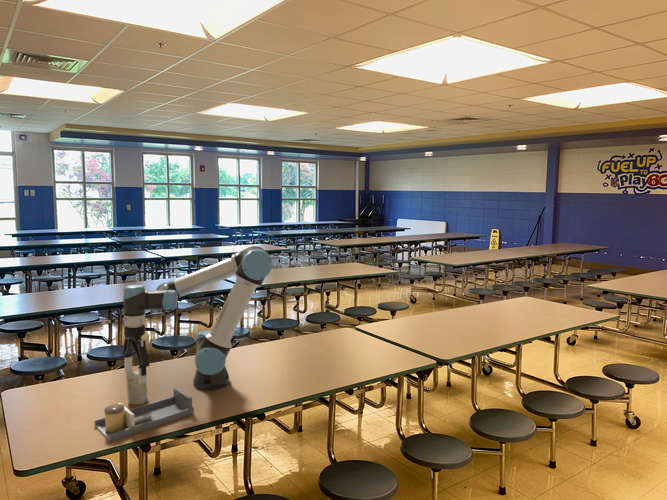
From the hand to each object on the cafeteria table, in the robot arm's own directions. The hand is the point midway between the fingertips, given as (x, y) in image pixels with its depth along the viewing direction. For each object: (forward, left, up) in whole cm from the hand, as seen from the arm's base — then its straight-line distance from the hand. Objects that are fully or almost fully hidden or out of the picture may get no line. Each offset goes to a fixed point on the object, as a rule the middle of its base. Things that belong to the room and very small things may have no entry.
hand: (135, 378), depth 185 cm
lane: (+17, -4, -10) cm, 20 cm away
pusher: (+17, -7, -9) cm, 21 cm away
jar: (+17, -14, -10) cm, 24 cm away
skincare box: (0, 0, -10) cm, 10 cm away
